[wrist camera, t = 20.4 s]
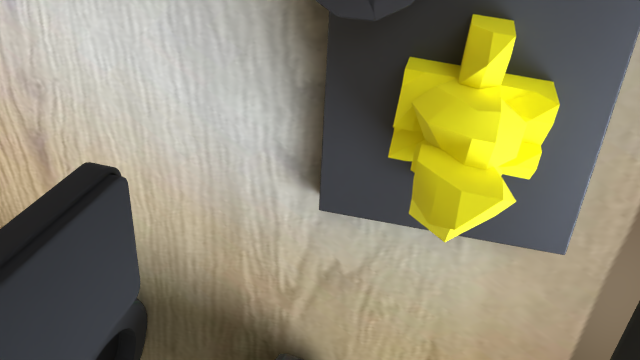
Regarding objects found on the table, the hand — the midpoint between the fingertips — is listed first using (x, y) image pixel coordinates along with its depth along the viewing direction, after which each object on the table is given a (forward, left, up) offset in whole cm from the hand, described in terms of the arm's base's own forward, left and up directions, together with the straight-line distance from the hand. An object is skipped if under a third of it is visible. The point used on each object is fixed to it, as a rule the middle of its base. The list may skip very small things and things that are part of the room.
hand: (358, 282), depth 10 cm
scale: (+1, +2, -17) cm, 17 cm away
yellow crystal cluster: (+2, +3, -16) cm, 16 cm away
